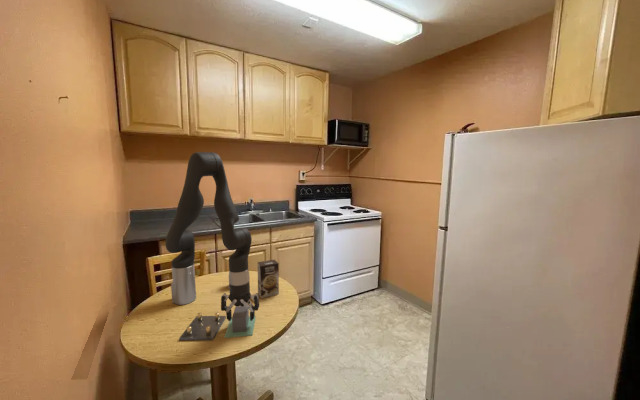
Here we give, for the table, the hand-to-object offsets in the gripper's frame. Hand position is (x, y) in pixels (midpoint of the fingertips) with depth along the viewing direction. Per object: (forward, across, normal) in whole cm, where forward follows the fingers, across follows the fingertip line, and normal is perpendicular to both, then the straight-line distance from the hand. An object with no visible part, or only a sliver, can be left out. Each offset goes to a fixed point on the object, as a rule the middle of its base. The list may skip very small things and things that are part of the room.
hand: (240, 319), depth 103 cm
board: (+3, 0, 0) cm, 3 cm away
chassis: (+3, -14, -1) cm, 14 cm away
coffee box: (+3, +6, +27) cm, 28 cm away
